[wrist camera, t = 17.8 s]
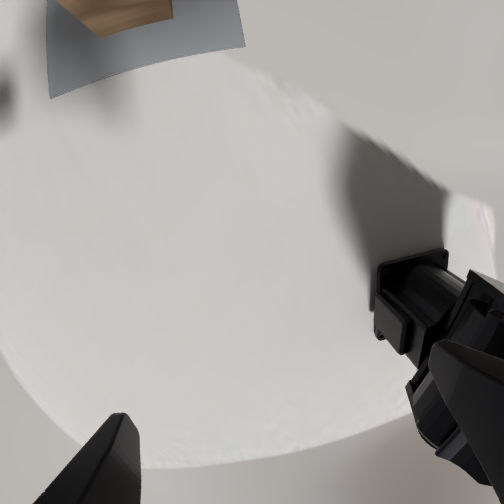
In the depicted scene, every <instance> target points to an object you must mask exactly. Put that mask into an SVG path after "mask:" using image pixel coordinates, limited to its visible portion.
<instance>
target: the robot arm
mask: <svg viewBox="0 0 504 504" xmlns="http://www.w3.org/2000/svg"><path fill="white" fill-rule="evenodd" d="M443 253H444V254H443ZM442 255H443V256H442ZM448 257H449V252H448V251H447V250H446V249H444V248H440V249H436V250H432V251H429V252H425V253H421V254H417V255H413V256H409V257H405V258H401V259H397V260H393V261H389V262H385V263H382V264H381V265H380V266H379V267H378V271H377V294H376V296H375V312H374V325H375V336H376V338H377V339H378V340H380V341H381V340H385V339H387V340H388V342H389V343H390V344H391V345H392V347H393V348H394V349H395V350H396V351H397V353H398V354H400V355H403V354H406V356H407V357H408V358H409V359H410V361H411V362H412V363H413V364H414V365H415V367H416V368H417V369H418V370H417V372H416V374H415V375H414V377H413V378H412V380H409V382H408V383H407V385H406V386H405V388H406V392H407V395H408V398H409V401H410V405H411V408H412V412H413V415H414V419H415V422H416V426H417V429H418V431H419V434H420V435H421V437H422V438H423V439H424V440H425V441H426V443H428V444H429V445H430V446H431V447H433V448H435V449H436V451H435V454H436V456H438V457H441V458H443V459H446V460H449V461H451V462H453V463H454V464H456V465H458V466H459V467H461V468H462V469H463V470H465V471H466V472H467V473H468V474H469V475H470V476H471V477H473V479H474V480H476V481H477V482H478V483H479V484H483V485H488V486H493V488H494V490H495V492H496V494H497V496H498V498H499V501H500V503H501V504H504V284H503V283H502V282H499V281H497V280H495V279H492V278H490V277H488V276H486V275H483V274H481V273H478V272H476V271H474V270H471V269H470V270H469V272H468V275H467V280H466V282H465V281H464V280H462V279H461V278H459V277H458V276H456V275H455V274H453V273H452V272H450V271H449V270H447V268H448ZM386 268H387V269H386ZM384 269H386V271H385V272H384V273H383V271H384ZM381 333H382V334H381ZM380 334H381V335H380ZM140 498H141V463H140V437H139V432H138V430H137V428H136V426H135V425H134V423H133V422H132V420H131V419H130V417H129V416H128V414H126V413H113V414H111V415H110V417H109V418H108V419H107V420H106V421H105V422H104V423H103V425H102V426H101V427H100V428H99V429H98V430H97V431H96V433H95V434H94V435H93V436H92V437H91V438H90V439H89V441H88V442H87V443H86V444H85V445H84V446H83V447H82V449H81V450H80V451H79V452H78V453H77V454H76V455H75V456H74V458H73V459H72V460H71V461H70V462H69V463H68V464H67V466H66V467H65V468H64V469H63V470H62V471H61V473H60V474H59V475H58V476H57V477H56V478H55V479H54V481H53V482H52V483H51V484H50V485H49V486H48V487H47V488H46V490H45V492H43V493H42V494H41V495H40V496H39V497H38V498H37V500H36V501H35V502H34V503H33V504H140Z"/></svg>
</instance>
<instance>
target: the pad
mask: <svg viewBox="0 0 504 504" xmlns="http://www.w3.org/2000/svg"><path fill="white" fill-rule="evenodd" d="M172 7H173V17H174V18H173V19H168V20H164V21H159V22H155V23H151V24H147V25H143V26H139V27H135V28H131V29H128V30H124V31H121V32H118V33H114V34H111V35H108V36H105V37H102V38H99V37H98V36H97V35H96V34H95V33H94V32H92V31H91V30H90V29H89V28H88V27H87V26H85V25H84V24H83V23H82V22H81V21H80V20H79V19H77V18H76V17H75V16H74V15H73V14H71V13H70V12H69V11H68V10H67V9H66V8H64V7H63V6H62V5H61V4H59V3H58V2H57V1H56V0H47V25H46V42H47V69H48V83H49V94H50V98H51V99H52V98H54V97H56V96H59V95H61V94H63V93H66V92H68V91H71V90H73V89H76V88H78V87H81V86H84V85H86V84H89V83H92V82H95V81H97V80H100V79H103V78H106V77H109V76H112V75H115V74H119V73H122V72H125V71H129V70H132V69H135V68H139V67H143V66H146V65H150V64H154V63H158V62H162V61H167V60H171V59H176V58H180V57H185V56H190V55H195V54H201V53H207V52H213V51H219V50H226V49H233V48H241V47H245V40H244V35H243V30H242V25H241V19H240V14H239V9H238V4H237V0H172Z"/></svg>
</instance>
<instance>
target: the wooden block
mask: <svg viewBox="0 0 504 504" xmlns="http://www.w3.org/2000/svg"><path fill="white" fill-rule="evenodd" d="M56 1H57V2H58V3H59V4H61V5H62V6H63V7H64V8H66V9H67V10H68V11H69V12H70V13H71V14H73V15H74V16H75V17H76V18H77V19H79V20H80V21H81V22H82V23H83V24H84V25H85V26H87V27H88V28H89V29H90V30H91V31H92V32H94V33H95V34H96V35H97V36H98V37H99V38H102V37H105V36H108V35H111V34H114V33H118V32H121V31H124V30H128V29H131V28H135V27H139V26H143V25H147V24H151V23H155V22H159V21H164V20H168V19H173V18H174V17H173V7H172V0H56Z"/></svg>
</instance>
